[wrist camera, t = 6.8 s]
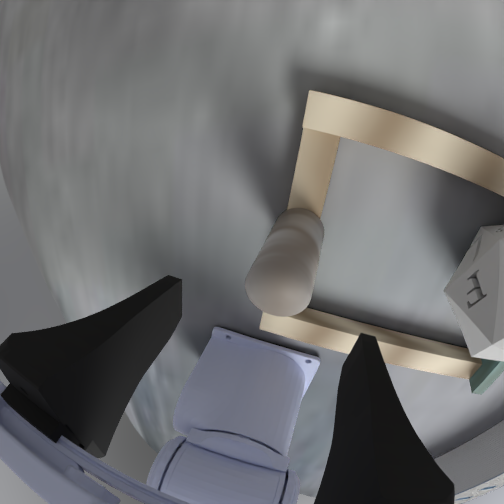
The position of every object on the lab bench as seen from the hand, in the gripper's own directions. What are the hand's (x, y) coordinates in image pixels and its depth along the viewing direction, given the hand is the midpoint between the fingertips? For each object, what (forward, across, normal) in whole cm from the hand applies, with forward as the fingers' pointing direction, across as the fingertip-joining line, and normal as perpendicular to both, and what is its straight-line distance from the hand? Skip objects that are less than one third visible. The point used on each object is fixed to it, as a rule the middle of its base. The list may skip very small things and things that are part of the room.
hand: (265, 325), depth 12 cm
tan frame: (+9, -9, 0) cm, 13 cm away
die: (+10, -14, -2) cm, 17 cm away
